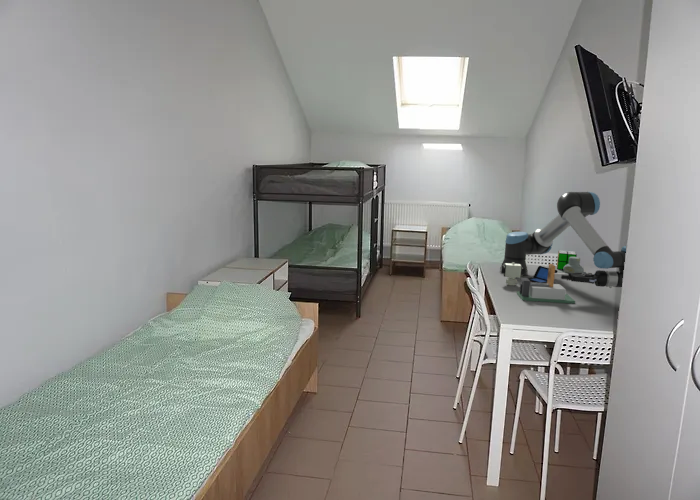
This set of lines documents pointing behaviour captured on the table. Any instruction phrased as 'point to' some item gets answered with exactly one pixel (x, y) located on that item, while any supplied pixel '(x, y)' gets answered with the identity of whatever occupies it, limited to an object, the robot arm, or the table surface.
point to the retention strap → (549, 280)
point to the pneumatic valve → (512, 272)
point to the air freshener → (573, 266)
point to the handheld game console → (540, 275)
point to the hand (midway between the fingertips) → (553, 276)
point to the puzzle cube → (564, 258)
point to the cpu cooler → (543, 293)
